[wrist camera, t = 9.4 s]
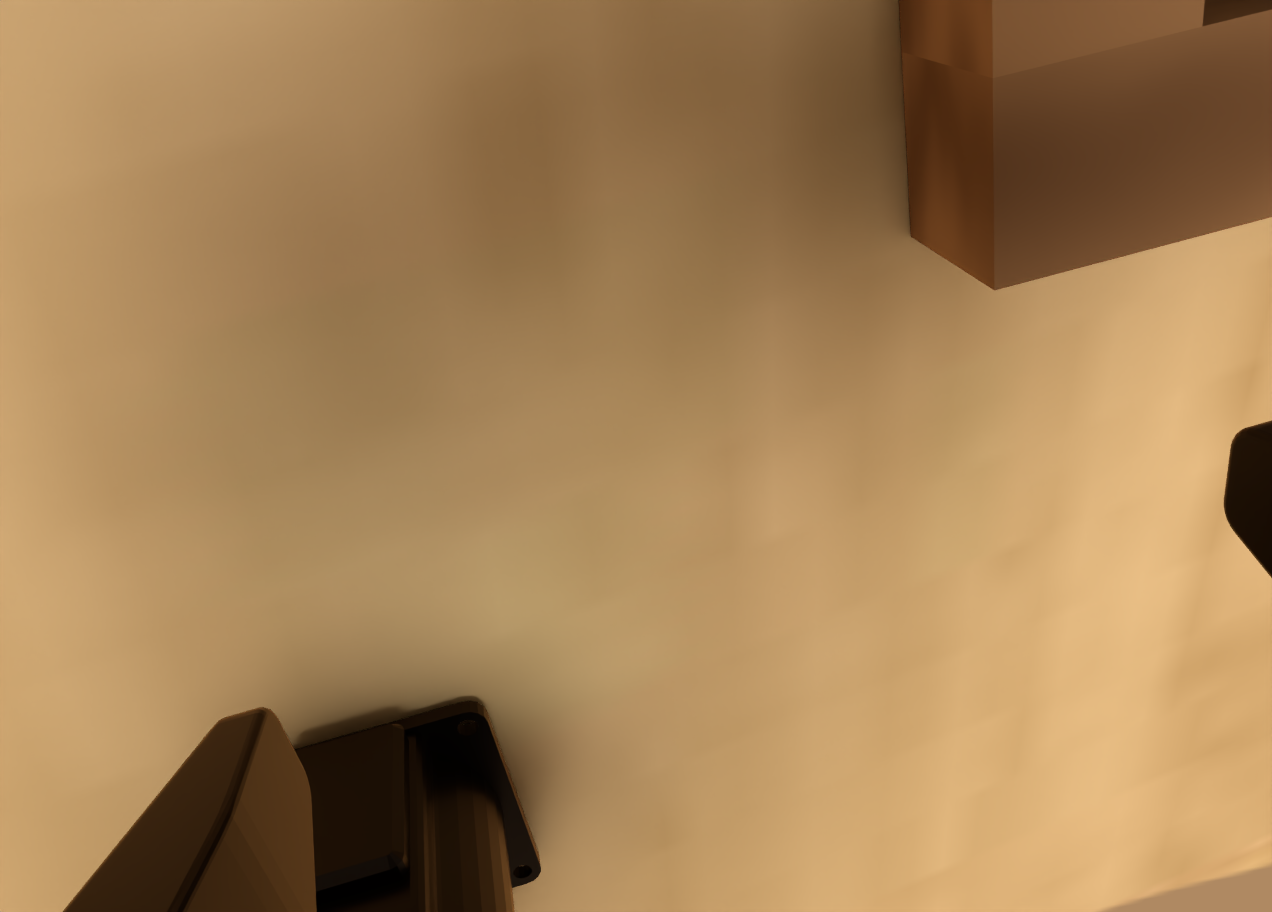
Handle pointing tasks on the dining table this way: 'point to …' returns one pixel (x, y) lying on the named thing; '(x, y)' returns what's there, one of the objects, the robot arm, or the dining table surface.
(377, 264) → the dining table surface
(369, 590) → the dining table surface
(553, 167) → the dining table surface
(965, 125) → the well block
